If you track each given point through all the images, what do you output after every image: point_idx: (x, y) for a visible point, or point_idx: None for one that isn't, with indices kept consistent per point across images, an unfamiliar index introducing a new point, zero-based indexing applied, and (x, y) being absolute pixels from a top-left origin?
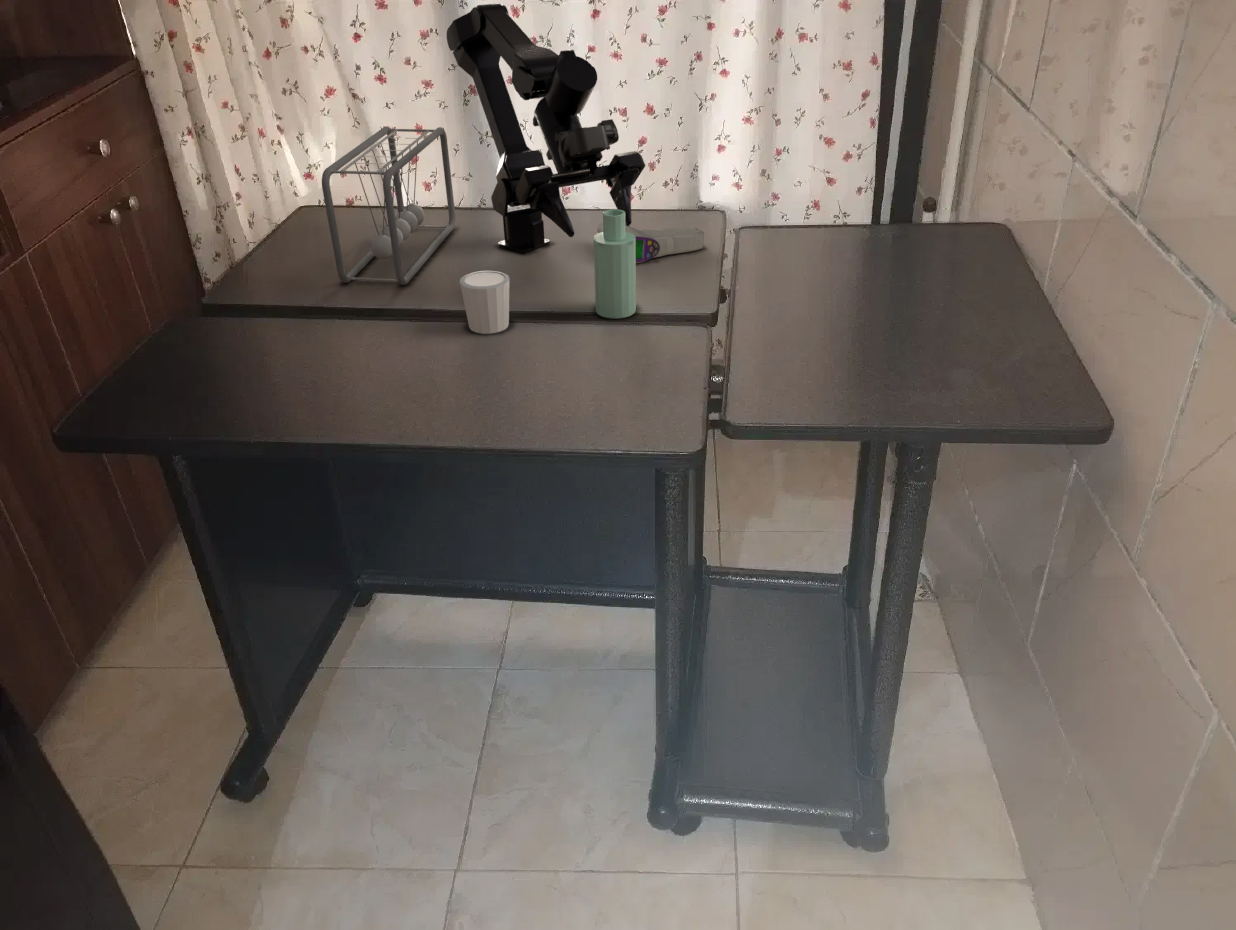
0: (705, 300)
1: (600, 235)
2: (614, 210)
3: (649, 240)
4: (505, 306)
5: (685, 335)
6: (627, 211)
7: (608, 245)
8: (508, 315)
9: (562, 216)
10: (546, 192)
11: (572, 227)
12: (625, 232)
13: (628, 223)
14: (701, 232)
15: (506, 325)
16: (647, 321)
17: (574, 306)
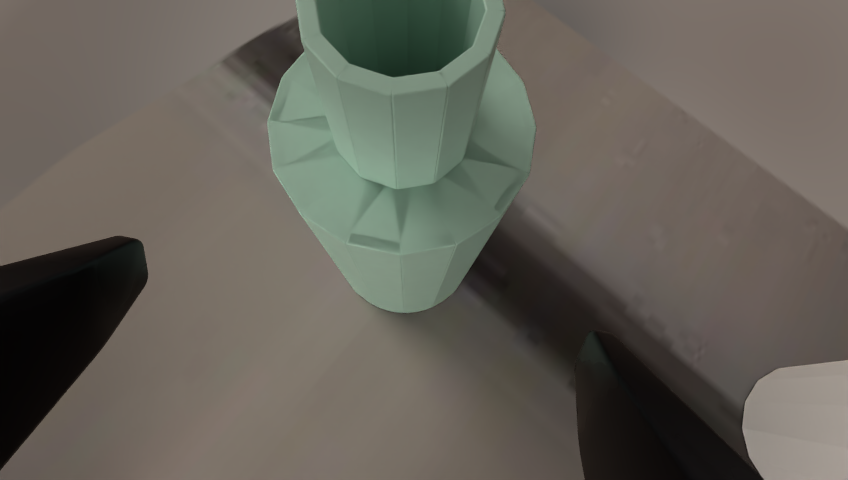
0: (145, 124)
1: (449, 206)
2: (341, 58)
3: None
4: (838, 366)
5: None
6: (60, 264)
7: (506, 68)
8: (778, 387)
9: (719, 440)
10: None
11: (609, 351)
12: (289, 142)
13: (141, 253)
14: None
15: (773, 374)
16: None
17: (488, 370)
